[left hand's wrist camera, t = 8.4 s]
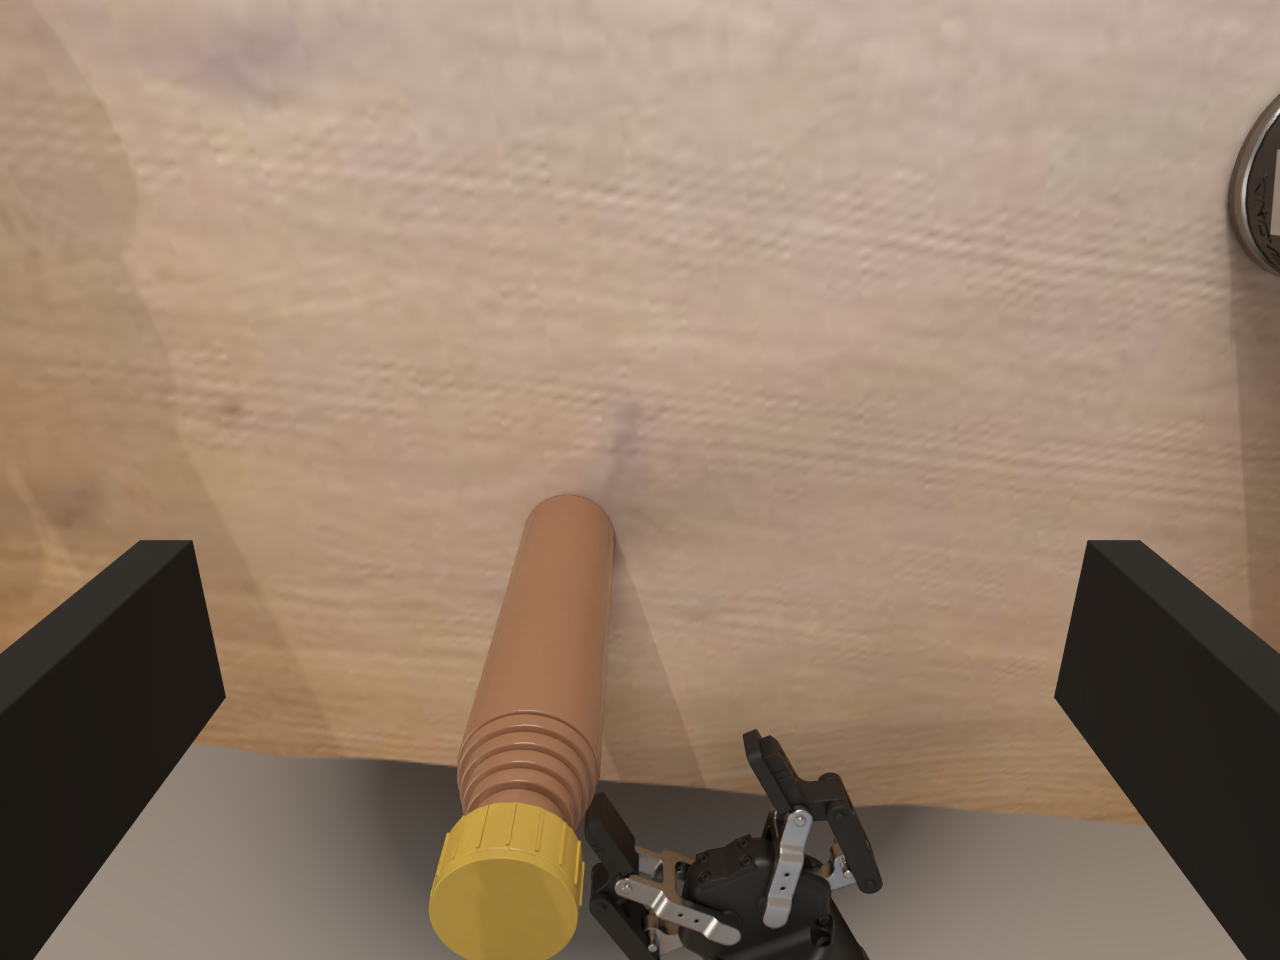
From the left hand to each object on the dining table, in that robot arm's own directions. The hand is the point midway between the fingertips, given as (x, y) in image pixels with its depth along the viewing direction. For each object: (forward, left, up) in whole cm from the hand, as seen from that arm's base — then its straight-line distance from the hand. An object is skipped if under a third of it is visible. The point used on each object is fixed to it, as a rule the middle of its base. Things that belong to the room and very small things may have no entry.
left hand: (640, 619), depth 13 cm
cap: (0, -13, -6) cm, 14 cm away
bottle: (0, -13, -29) cm, 32 cm away
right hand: (+7, -21, -22) cm, 32 cm away
